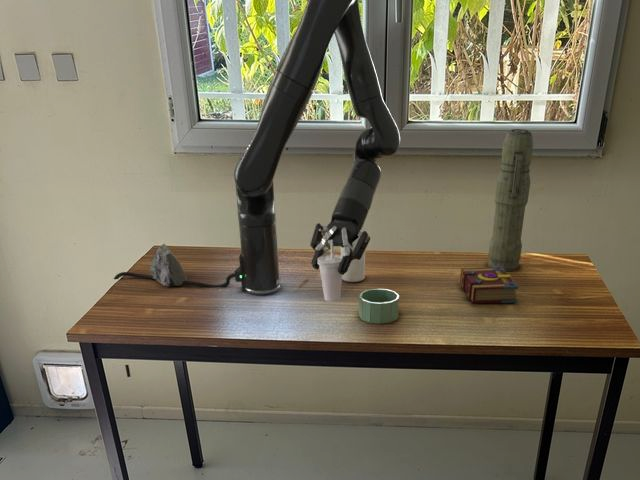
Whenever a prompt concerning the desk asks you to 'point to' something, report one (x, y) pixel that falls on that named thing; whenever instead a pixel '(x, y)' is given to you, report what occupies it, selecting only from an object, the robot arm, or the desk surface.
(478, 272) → the decorative book
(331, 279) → the smoothie
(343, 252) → the can
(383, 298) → the holder
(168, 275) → the mineral rock
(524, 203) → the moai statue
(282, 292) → the desk surface
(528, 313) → the desk surface
